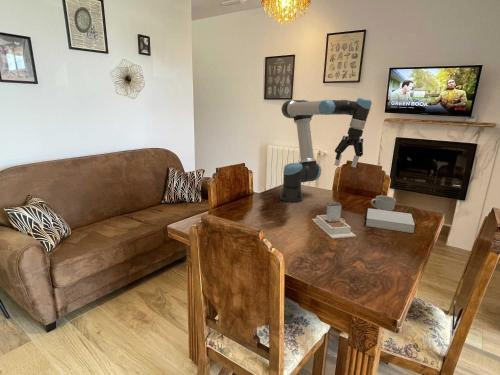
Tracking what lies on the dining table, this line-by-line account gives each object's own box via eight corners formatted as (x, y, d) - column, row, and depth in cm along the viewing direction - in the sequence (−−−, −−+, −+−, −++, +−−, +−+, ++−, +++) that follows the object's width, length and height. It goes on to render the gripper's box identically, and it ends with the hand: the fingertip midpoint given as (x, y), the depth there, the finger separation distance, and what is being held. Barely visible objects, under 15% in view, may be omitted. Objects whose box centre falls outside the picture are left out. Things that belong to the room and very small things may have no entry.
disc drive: (365, 215, 167) (366, 207, 166) (409, 221, 159) (411, 213, 158) (364, 226, 152) (365, 217, 151) (413, 234, 143) (414, 224, 142)
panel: (328, 227, 147) (330, 205, 144) (325, 225, 150) (327, 203, 146) (339, 226, 148) (341, 204, 145) (336, 224, 151) (338, 202, 148)
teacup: (390, 208, 179) (391, 195, 177) (397, 214, 168) (398, 201, 166) (366, 207, 180) (368, 194, 178) (371, 213, 170) (373, 200, 168)
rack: (332, 238, 136) (333, 230, 135) (311, 219, 159) (312, 212, 158) (355, 236, 139) (356, 228, 138) (332, 218, 161) (332, 211, 160)
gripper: (345, 126, 148) (333, 167, 154) (376, 132, 161) (365, 169, 167) (334, 124, 154) (324, 163, 160) (365, 129, 167) (354, 165, 173)
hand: (344, 166), depth 163 cm, fingers open, 13 cm apart
